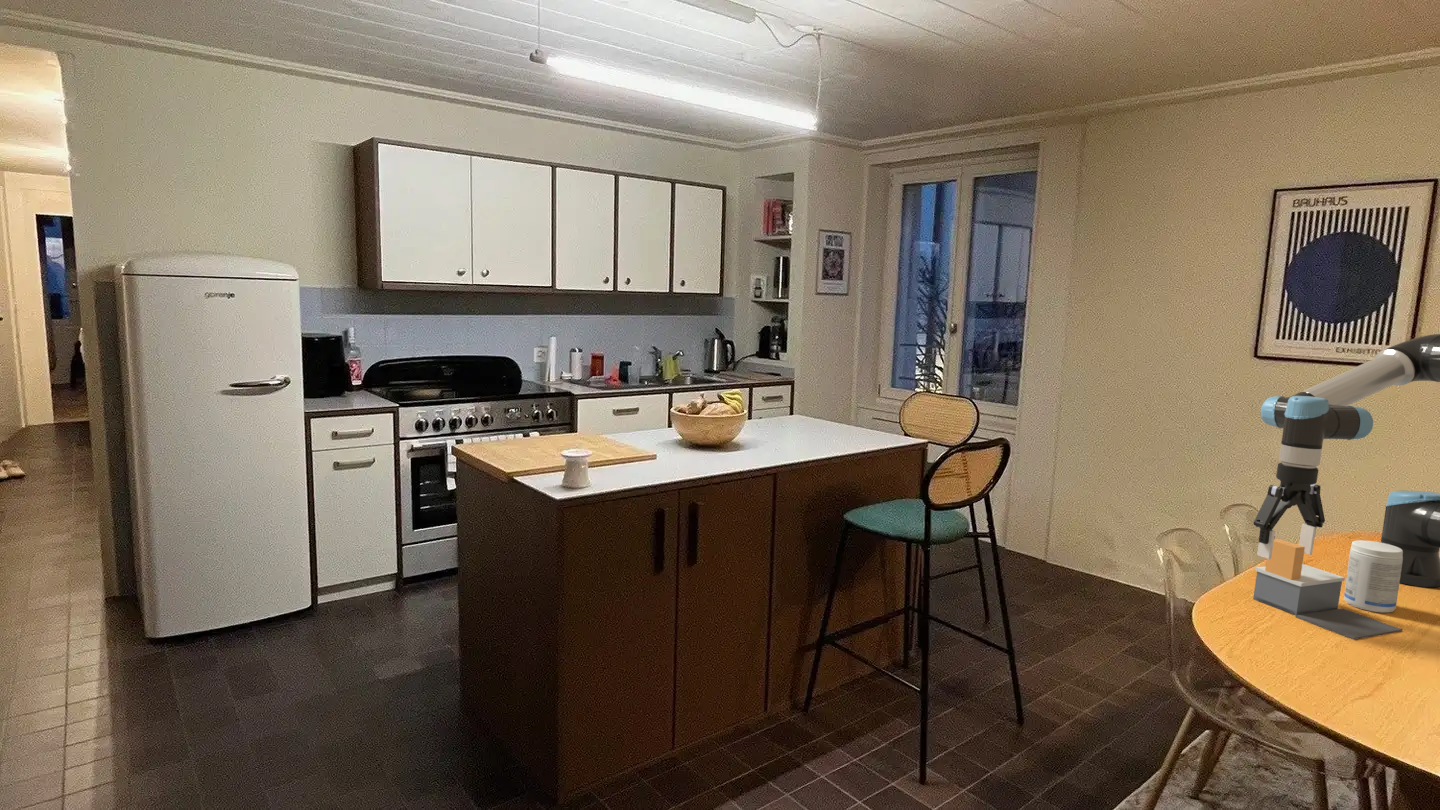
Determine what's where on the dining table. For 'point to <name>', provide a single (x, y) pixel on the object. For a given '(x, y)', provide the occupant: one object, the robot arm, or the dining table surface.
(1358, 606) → the supplement tub
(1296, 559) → the lid
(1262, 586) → the box
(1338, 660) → the dining table surface
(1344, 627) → the mat
